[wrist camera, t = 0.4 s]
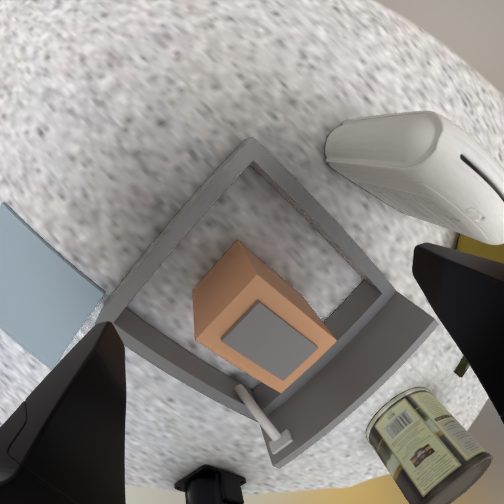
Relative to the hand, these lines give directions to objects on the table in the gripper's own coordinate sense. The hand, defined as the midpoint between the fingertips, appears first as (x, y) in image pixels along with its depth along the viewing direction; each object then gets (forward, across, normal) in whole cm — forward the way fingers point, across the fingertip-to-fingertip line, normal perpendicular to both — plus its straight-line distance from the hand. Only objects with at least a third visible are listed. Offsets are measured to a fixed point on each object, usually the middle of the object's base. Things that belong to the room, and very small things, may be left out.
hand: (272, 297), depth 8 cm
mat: (+13, +18, +4) cm, 23 cm away
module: (+13, 0, +9) cm, 16 cm away
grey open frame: (+13, 0, +9) cm, 16 cm away
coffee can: (+10, -15, +32) cm, 37 cm away
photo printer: (+15, -12, +2) cm, 19 cm away
